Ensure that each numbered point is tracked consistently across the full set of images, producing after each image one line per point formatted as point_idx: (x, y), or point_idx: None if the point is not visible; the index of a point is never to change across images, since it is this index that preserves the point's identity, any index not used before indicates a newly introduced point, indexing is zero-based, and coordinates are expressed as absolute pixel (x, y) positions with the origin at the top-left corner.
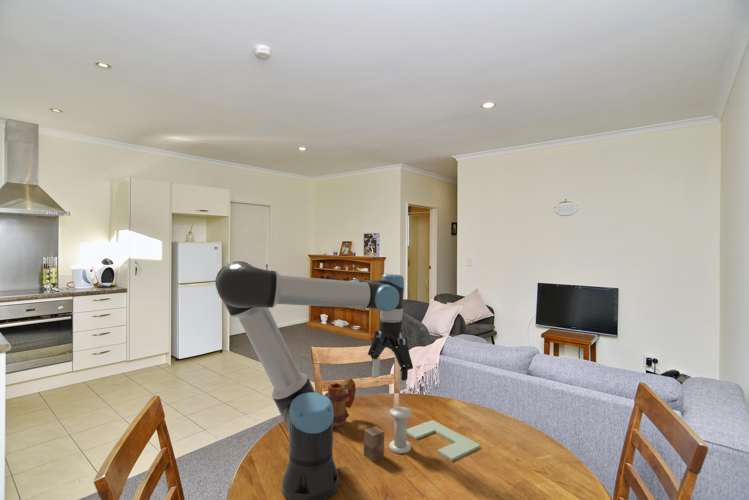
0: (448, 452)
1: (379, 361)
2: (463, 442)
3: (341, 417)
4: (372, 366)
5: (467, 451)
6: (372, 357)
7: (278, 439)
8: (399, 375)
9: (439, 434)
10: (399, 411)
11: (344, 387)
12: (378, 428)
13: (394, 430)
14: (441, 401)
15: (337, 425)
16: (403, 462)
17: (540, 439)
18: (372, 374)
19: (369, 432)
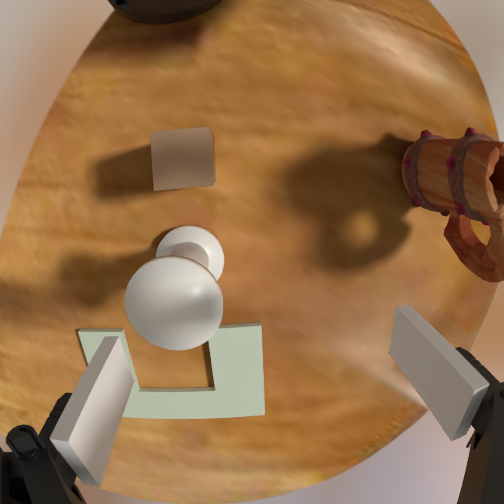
0: None
1: (441, 422)
2: (129, 400)
3: (410, 169)
4: (452, 347)
5: None
6: (501, 391)
7: (410, 6)
8: (74, 405)
9: (196, 388)
10: (174, 302)
11: (486, 202)
12: (189, 185)
13: (191, 256)
14: (331, 466)
15: (403, 158)
16: (122, 220)
17: (105, 484)
18: (416, 316)
19: (180, 134)
